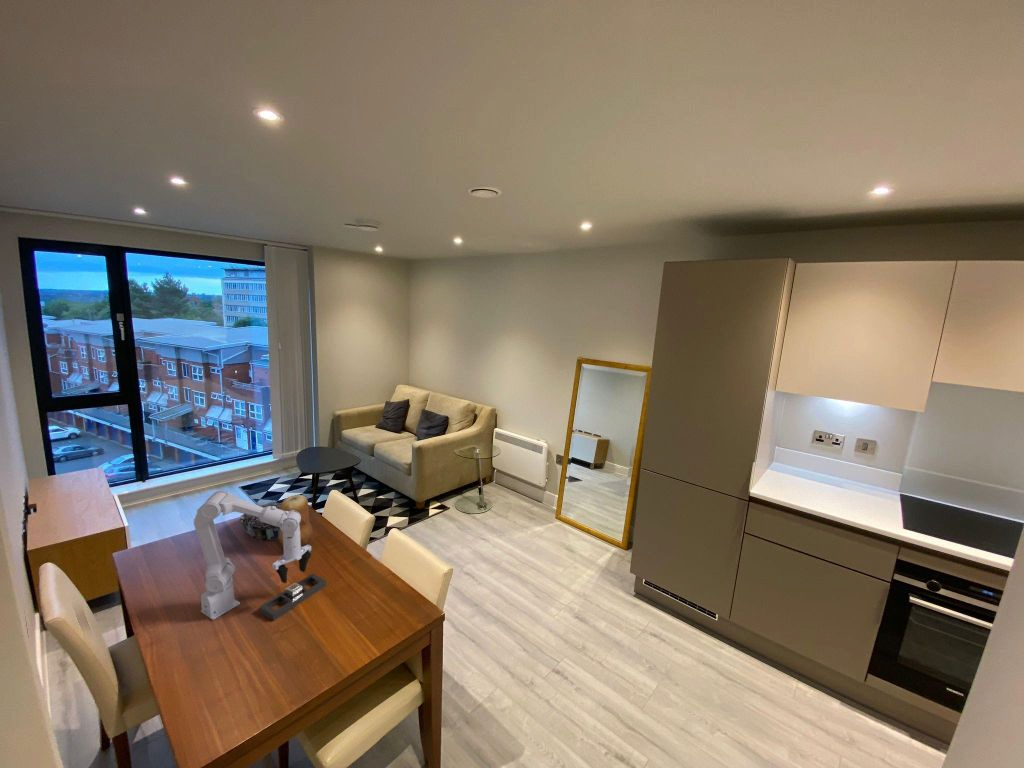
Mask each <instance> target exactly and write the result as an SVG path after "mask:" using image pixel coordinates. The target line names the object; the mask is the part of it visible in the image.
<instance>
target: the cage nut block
mask: <svg viewBox="0 0 1024 768" xmlns="http://www.w3.org/2000/svg"><path fill="white" fill-rule="evenodd" d="M297 583H298V582H294V583H292V584H290V585H289V586H286V587H285V590H286V596H287V597H289V598H290V599H292V600H293V599H294V598H296V597H297V596H299V595H300V594H302V586H301V585H299V584H297Z"/></svg>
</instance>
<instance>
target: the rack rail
mask: <svg viewBox="0 0 1024 768" xmlns="http://www.w3.org/2000/svg"><path fill="white" fill-rule="evenodd" d="M296 583H297V584H299V585H301V586H302V594H300V595H299V596H297V597H296V598H294V599H293V600H292V599H290V598H289V597H287V596H286V589H285V590H284V591H282V592H280V593H279V594H277V595H276V596H274V597H272V598H271V599H270V600H268V601H266V602H265V603H263V604H261V605H260V606H259V613H260V614H262V615H263V616H264V617H267V618H268V619H269V620H271V621H273V622H275V621H276V620H278V619H279V618H280V617H282V616H283V615H285V614H286V613H288V612H289V611H290V610H292V609H293V608H295V607H297V606H299V605H300V604H301V603H302V602H305V600H307V599H309V598H310V597H311V596H313V595H315V593H316V594H317V593H318V592H319V591H321V590H322V589H323V588H325V587H327V580H326V579H324V578H322V577H320V576H319V575H317V574H314V573H311V574H309V575H308V576H306V577H305V578H303V579H301V580H300V581H298V582H296ZM309 584H313V586H311V587H309V588H305V587H306V586H309ZM304 586H305V587H304ZM279 603H282V604H283V605H282V606H281V607H279V608H277V609H275V608H273V607H275V606H277V605H278V604H279Z"/></svg>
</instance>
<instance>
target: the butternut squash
mask: <svg viewBox="0 0 1024 768" xmlns="http://www.w3.org/2000/svg"><path fill="white" fill-rule="evenodd" d="M281 503H282V504H281V507H280V510H283V511H292V510H295V511H297V512H299V513H300V515H301V521H300V523H299V525H300V541H301V547H303V546H306V545H309V543H310V541H311V540H312V538H313V533H314V532H313V527H312V524H311V522H310V513H309V512H310V510H309V509H310V508H309V501H308V499H307V498H306V497H305V496H304V495H301V494H294V495H291V496H287V497H285V499H284V500H282V502H281ZM278 540H279V544H280V545H281V546H282V547H283V531H282V530H281V532H280V535H279V539H278Z"/></svg>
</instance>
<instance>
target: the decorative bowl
mask: <svg viewBox="0 0 1024 768" xmlns="http://www.w3.org/2000/svg"><path fill="white" fill-rule="evenodd" d="M281 504H282V502H275V503H267V504H264V505H259V506H260V507H263V508H265V507H268V506H271V507H272V506H275V507H276V508H277V509H280V507H281ZM238 520H239V521H238V522H239V523H240V524H241V526H242V527H243V529H244V531H245V533H246V534H247V535H248V536H249V537H252V538H253V539H257V540H259V541H260V542H267V541H273V540H279V535H280V532H281V529H280V527H277V526H278V525H277V526H274V525H271V524H267V523H264V522H261V521H260V519H259V517H256V516H252V515H248V514H244V513H242V515H240V518H239V519H238Z"/></svg>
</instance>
